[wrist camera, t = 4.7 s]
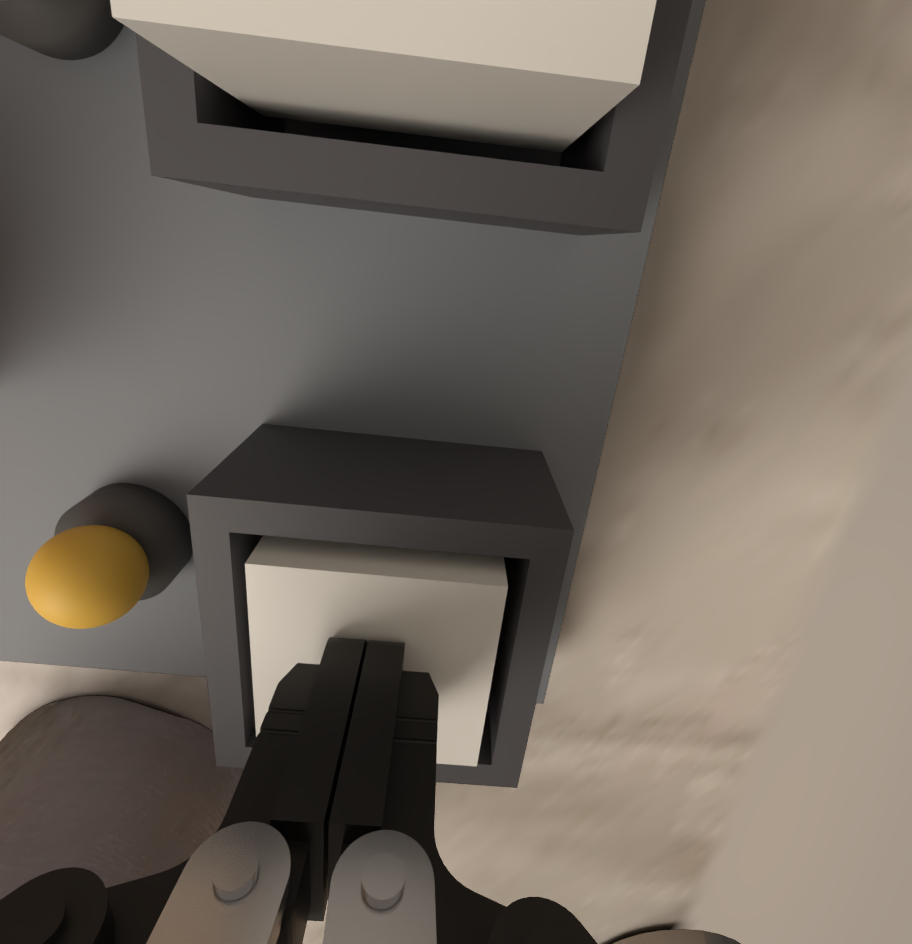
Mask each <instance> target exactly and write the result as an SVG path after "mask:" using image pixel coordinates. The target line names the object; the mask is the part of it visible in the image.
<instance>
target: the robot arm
mask: <svg viewBox="0 0 912 944" xmlns="http://www.w3.org/2000/svg"><path fill="white" fill-rule="evenodd" d="M366 646H367V649H366ZM404 651H405V643H401V642H388V641H375V640H369V641H368V645H367V641H366V640H360V639H347V638H335V637H329V639H328V641H327V643H326V646H325V649H324V652H323V656H322V659H321V662H320V664H306V663H297V664H296V665H295V666H294V667H293V668H292V669H291V670H290V671H289V672H288V673H287V674H286V675H285V676H284V677H283V678H282V680H281V681H280V682H279V683H278V685H277V687H276V690H275V692H274V695H273V697H272V700H271V702H270V705H269V707H268V712H266V715H265V717H264V720H263V722H262V725H261V727H260V732H259V734H258V735H257V737H256V740H255V742H254V745H253V747H252V750H251V752H250V755H249V757H248V760H247V762H246V765H245V767H244V770H243V772H242V775H241V777H240V780H239V782H238V785H237V787H236V790H235V792H234V795H233V797H232V800H231V802H230V805H229V807H228V810H227V812H226V815H225V817H224V819H223V821H222V823H221V825H220V826H219V828H218V829H217V831H216V833H215V834H213V835H212V836H210V837H209V838H208V839H207V840H205V841H204V842H203V843H202V844H201V845H200V846H199V847H198V848H197V850H196V851H195V852H194V853H193V855H192V856H191V857H190V858H189V859H187V860H185V861H184V862H182V863H181V864H179V865H177V866H175V867H173V868H171V869H169V870H166V871H163V872H160V873H157V874H154V875H150V876H147V877H143V878H140V879H136V880H133V881H129V882H125V883H122V884H118V885H115V886H111V887H108V888H105V885H104V883H103V881H102V880H101V879H100V877H99V876H98V875H97V874H95V873H94V872H92V871H90V870H87V869H84V868H77V867H70V868H62V869H57V870H53V871H50V872H47V873H44V874H42V875H40V876H38V877H36V878H34V879H32V880H30V881H28V882H26V883H25V884H23V885H21V886H20V887H18V888H17V889H15V890H14V891H12V892H11V893H10V894H8V895H7V896H5V897H4V898H2V899H1V900H0V944H302V942H303V937H304V933H305V928H306V924H307V920H311V921H324V916H325V910H326V905H327V900H328V907H327V915H326V923H325V931H324V939H323V944H597V943H596V941H595V940H594V939H593V938H592V936H591V935H590V934H589V933H588V931H587V930H586V929H585V928H584V926H583V925H582V924H581V923H580V922H579V920H578V919H577V918H576V917H575V916H574V915H573V914H572V913H571V912H569V911H568V910H567V909H566V908H565V907H563V906H561V905H560V904H558V903H556V902H554V901H551V900H549V899H546V898H541V897H527V898H522V899H519V900H517V901H515V902H513V903H511V904H510V905H509V906H507V907H505V906H503V905H501V904H499V903H497V902H495V901H493V900H490V899H488V898H486V897H484V896H482V895H480V894H478V893H475V892H473V891H472V890H470V889H468V888H466V887H465V886H463V885H462V884H461V883H460V882H458V881H457V880H456V879H455V878H454V877H453V876H452V875H451V874H450V873H449V871H448V870H447V868H446V867H445V865H444V864H443V862H442V860H441V858H440V856H439V853H438V850H437V847H436V843H435V838H434V814H435V786H436V758H437V730H438V702H439V694H438V692H437V690H436V687H435V685H434V683H433V681H432V679H431V676H430V674H429V673H427V672H414V671H403V663H404ZM613 944H740V943H739V942H737V941H736V940H733V939H731V938H728V937H726V936H723V935H720V934H716V933H711V932H706V931H699V930H686V929H677V930H660V931H654V932H649V933H643V934H639V935H635V936H632V937H629V938H625V939H622V940H620V941H617V942H615V943H613Z"/></svg>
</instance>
